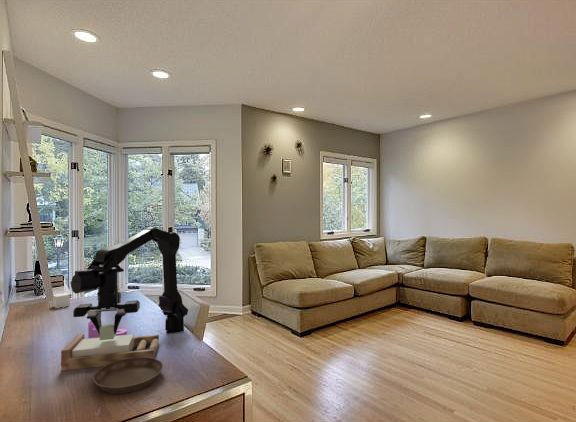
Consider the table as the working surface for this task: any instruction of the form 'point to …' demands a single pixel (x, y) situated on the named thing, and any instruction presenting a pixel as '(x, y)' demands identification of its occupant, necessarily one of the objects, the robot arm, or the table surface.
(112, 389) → the plant saucer
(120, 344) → the slab
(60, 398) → the table surface
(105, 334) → the block
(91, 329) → the bracket
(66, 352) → the roller track
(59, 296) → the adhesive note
